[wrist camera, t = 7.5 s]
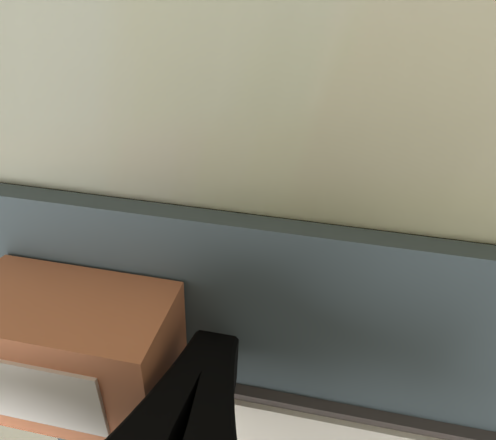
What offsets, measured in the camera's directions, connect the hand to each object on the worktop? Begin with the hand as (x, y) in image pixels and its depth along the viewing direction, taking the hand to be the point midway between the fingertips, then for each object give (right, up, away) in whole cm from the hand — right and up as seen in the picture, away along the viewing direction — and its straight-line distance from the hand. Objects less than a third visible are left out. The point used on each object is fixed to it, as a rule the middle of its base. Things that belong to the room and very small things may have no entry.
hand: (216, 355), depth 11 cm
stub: (-4, +1, +2) cm, 5 cm away
